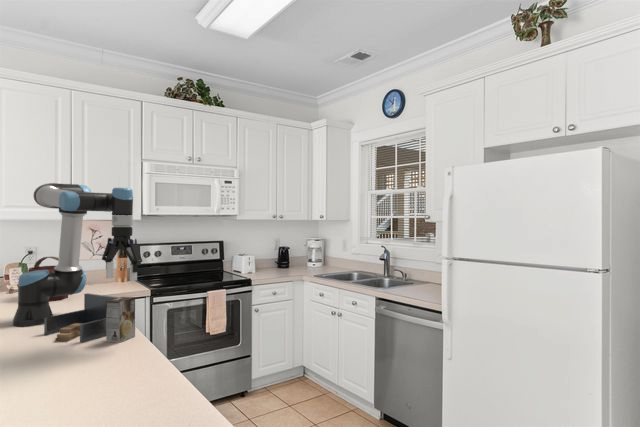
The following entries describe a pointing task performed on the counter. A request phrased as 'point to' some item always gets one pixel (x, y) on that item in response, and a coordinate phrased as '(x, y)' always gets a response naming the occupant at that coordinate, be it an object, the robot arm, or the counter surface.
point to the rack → (83, 318)
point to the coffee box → (120, 319)
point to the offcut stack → (68, 333)
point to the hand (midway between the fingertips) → (121, 279)
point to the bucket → (51, 269)
